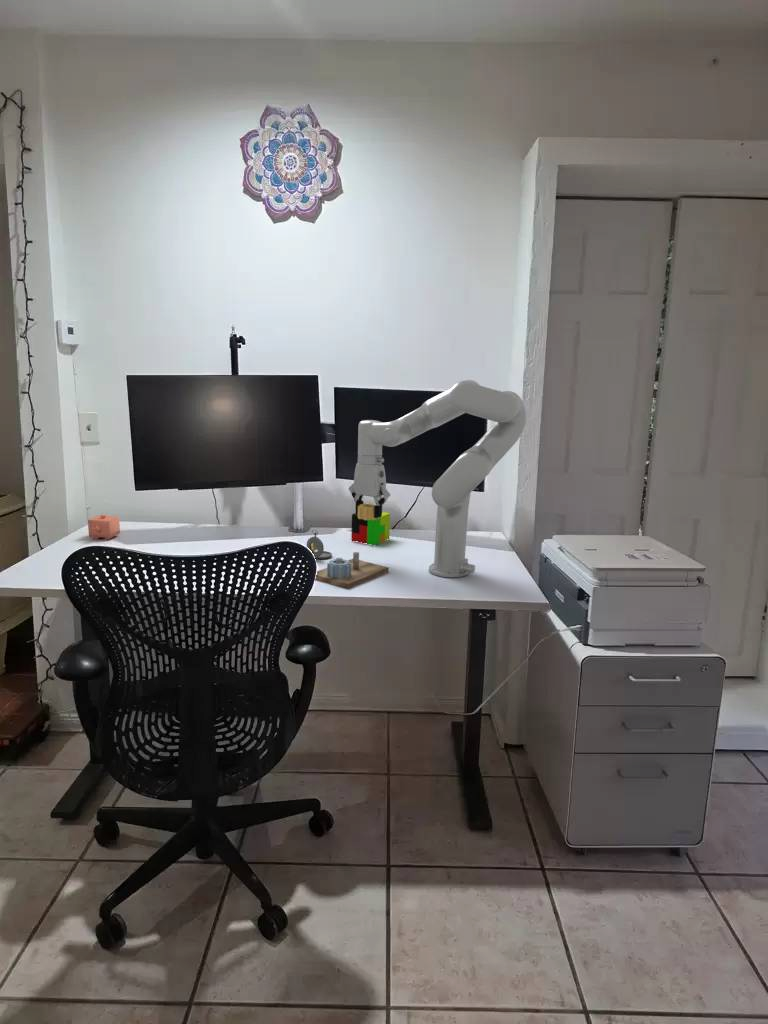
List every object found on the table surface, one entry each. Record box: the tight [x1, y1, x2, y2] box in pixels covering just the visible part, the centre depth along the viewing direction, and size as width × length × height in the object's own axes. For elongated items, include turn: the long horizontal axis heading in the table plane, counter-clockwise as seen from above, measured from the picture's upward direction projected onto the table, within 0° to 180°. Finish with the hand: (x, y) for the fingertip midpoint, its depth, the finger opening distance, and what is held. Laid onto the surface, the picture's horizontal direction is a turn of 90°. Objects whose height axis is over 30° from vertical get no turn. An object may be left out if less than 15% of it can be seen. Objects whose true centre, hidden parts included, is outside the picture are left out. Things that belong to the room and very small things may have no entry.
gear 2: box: [358, 503, 379, 520], centre depth 210 cm, size 7×7×4 cm
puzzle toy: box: [350, 511, 391, 546], centre depth 237 cm, size 10×10×10 cm
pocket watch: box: [306, 529, 333, 560], centre depth 215 cm, size 8×8×10 cm
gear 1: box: [326, 558, 351, 579], centre depth 194 cm, size 7×7×4 cm
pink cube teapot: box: [87, 514, 121, 540], centre depth 229 cm, size 8×12×8 cm, turn 174°
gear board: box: [315, 551, 390, 590], centre depth 199 cm, size 14×20×6 cm
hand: (368, 514), depth 210 cm, fingers closed on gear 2, 6 cm apart
